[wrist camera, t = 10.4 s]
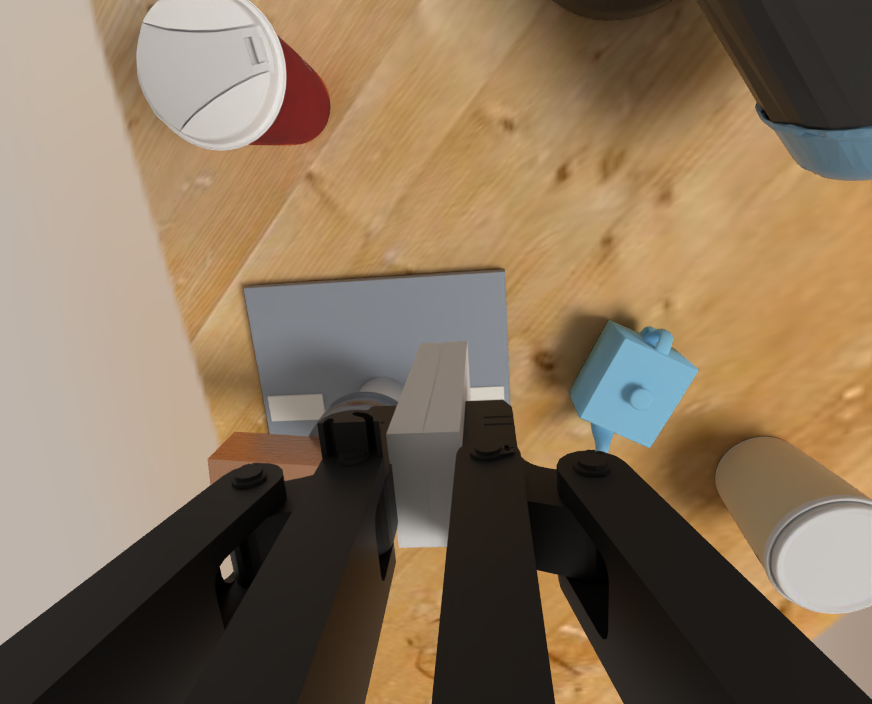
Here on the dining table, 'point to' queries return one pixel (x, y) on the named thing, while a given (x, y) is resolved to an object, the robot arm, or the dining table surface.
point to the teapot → (630, 384)
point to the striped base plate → (371, 338)
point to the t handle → (286, 443)
